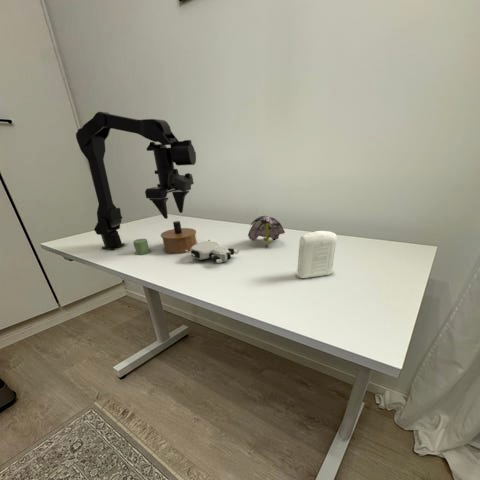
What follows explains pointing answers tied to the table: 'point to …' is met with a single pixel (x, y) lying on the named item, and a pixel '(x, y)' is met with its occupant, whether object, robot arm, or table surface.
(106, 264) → the table surface
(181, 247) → the brown shallow round container
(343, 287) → the table surface
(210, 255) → the robot toy
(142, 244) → the candle
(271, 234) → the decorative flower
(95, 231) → the robot arm
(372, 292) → the table surface
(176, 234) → the wooden lid
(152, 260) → the table surface
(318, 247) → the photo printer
